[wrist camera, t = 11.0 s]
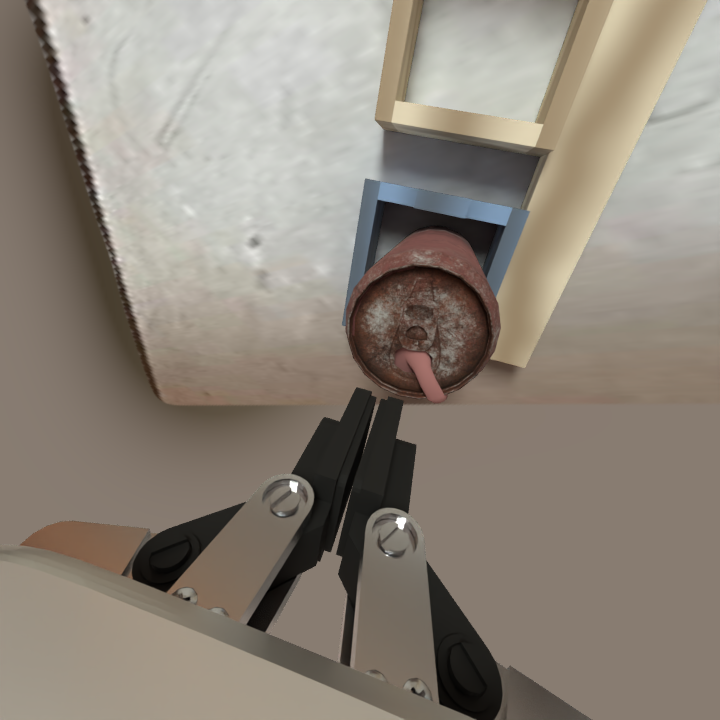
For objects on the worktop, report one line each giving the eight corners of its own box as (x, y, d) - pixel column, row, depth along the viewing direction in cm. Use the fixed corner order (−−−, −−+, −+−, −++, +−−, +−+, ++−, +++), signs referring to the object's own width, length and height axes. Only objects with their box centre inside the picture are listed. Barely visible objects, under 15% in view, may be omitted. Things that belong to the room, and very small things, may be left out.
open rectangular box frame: (731, -88, 14) (839, -198, 10) (519, 356, 25) (532, 384, 21) (424, -109, 16) (417, -208, 12) (352, 313, 27) (336, 332, 23)
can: (417, 323, 26) (390, 430, 14) (378, 254, 24) (309, 307, 12) (490, 287, 24) (535, 380, 11) (452, 207, 22) (457, 216, 10)
